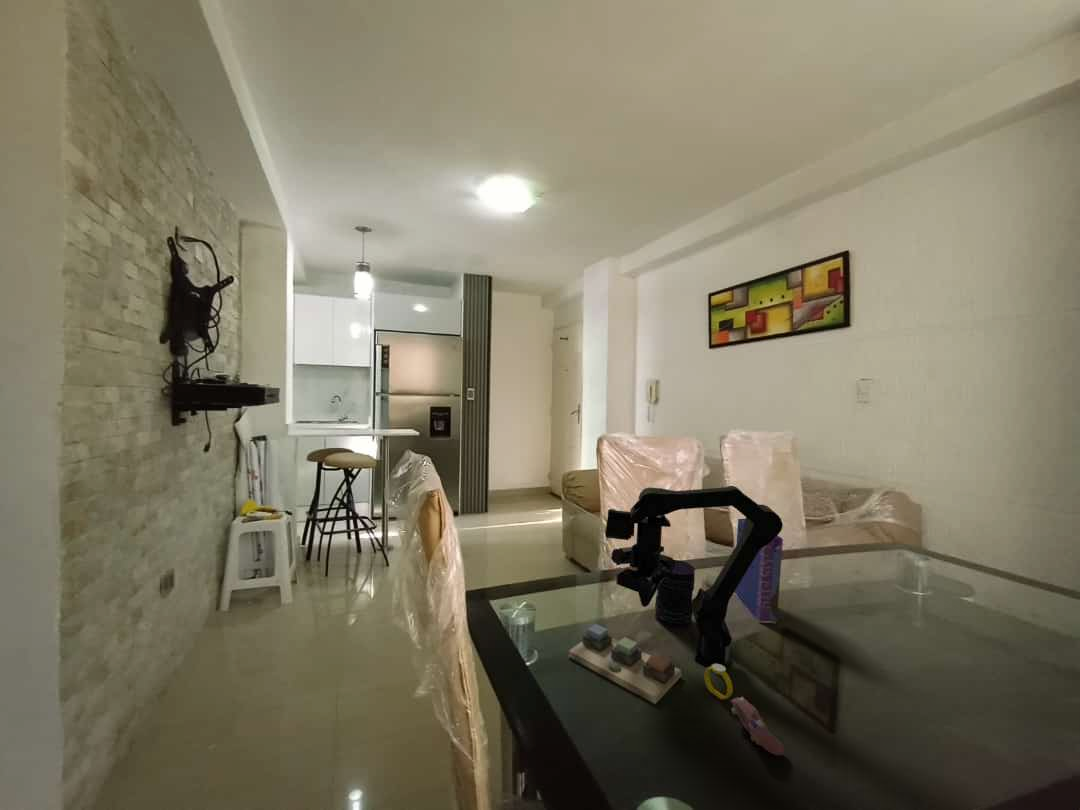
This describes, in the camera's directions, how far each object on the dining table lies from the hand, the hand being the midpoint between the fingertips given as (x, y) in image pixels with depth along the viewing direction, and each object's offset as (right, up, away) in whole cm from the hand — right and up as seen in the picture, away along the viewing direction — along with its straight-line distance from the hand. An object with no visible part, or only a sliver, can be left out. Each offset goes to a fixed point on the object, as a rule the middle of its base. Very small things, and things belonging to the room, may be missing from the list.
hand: (645, 605), depth 109 cm
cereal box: (+38, -12, +24) cm, 46 cm away
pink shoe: (+14, -13, -25) cm, 32 cm away
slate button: (-11, -8, 0) cm, 14 cm away
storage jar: (+11, -11, +15) cm, 22 cm away
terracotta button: (+1, -9, -11) cm, 14 cm away
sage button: (-5, -8, -5) cm, 11 cm away
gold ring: (+12, -13, -14) cm, 22 cm away
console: (-6, -11, -6) cm, 14 cm away
